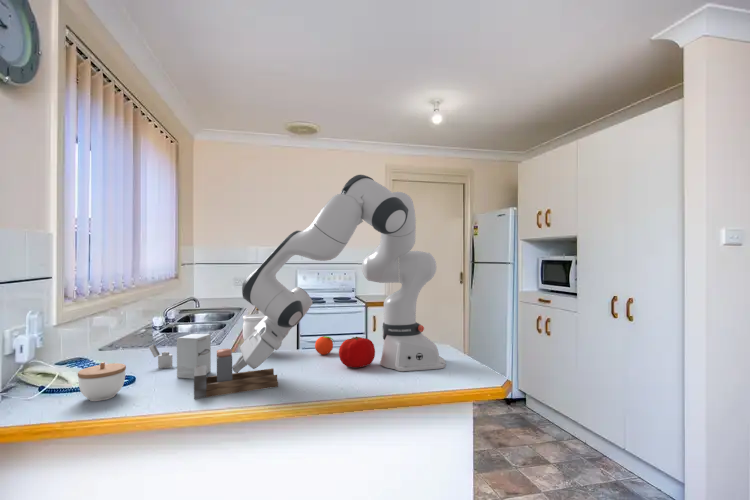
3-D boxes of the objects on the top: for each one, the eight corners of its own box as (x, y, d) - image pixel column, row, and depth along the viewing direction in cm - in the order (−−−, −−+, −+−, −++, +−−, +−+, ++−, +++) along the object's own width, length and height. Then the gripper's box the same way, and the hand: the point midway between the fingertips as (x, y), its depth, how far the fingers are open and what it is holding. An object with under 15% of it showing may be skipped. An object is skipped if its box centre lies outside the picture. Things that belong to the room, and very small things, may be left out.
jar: (266, 357, 144) (265, 317, 145) (238, 357, 145) (238, 317, 145) (274, 350, 155) (273, 313, 155) (248, 350, 155) (248, 313, 156)
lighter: (172, 366, 134) (172, 343, 135) (170, 367, 133) (170, 344, 133) (151, 367, 134) (151, 344, 134) (148, 368, 132) (148, 345, 132)
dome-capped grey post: (231, 379, 113) (231, 347, 114) (232, 384, 109) (232, 351, 109) (216, 381, 112) (216, 349, 112) (217, 386, 107) (216, 353, 107)
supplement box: (197, 379, 120) (196, 338, 120) (176, 378, 121) (175, 337, 121) (211, 372, 127) (211, 333, 127) (191, 371, 128) (191, 333, 129)
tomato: (380, 368, 129) (379, 337, 129) (343, 372, 124) (343, 340, 124) (368, 359, 139) (368, 331, 139) (334, 364, 134) (334, 334, 134)
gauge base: (272, 377, 121) (272, 357, 121) (278, 386, 111) (277, 365, 111) (195, 387, 112) (195, 366, 112) (194, 398, 103) (193, 376, 103)
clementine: (338, 352, 150) (338, 334, 150) (331, 357, 143) (331, 338, 143) (319, 351, 152) (319, 333, 152) (312, 356, 145) (311, 337, 145)
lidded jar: (75, 397, 105) (75, 363, 105) (121, 387, 113) (121, 355, 113) (81, 408, 98) (81, 370, 98) (130, 396, 105) (130, 362, 105)
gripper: (256, 321, 124) (224, 355, 120) (265, 332, 105) (227, 373, 101) (271, 334, 126) (239, 368, 122) (282, 347, 107) (245, 387, 103)
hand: (234, 370), depth 111 cm, fingers closed
